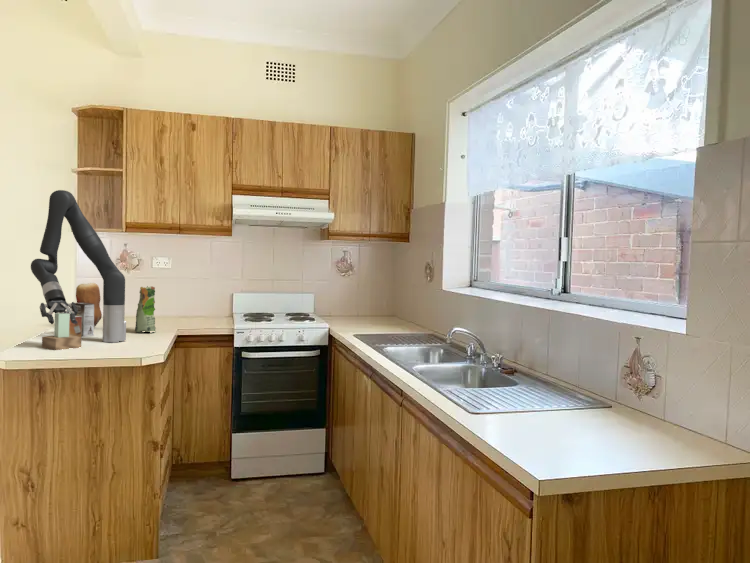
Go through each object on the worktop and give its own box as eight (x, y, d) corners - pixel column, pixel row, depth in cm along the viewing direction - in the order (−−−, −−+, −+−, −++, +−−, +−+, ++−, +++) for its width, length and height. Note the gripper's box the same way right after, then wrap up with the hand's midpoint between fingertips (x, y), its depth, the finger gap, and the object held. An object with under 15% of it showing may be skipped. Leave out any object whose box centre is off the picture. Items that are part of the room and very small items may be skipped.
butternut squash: (71, 327, 321) (72, 282, 320) (97, 326, 330) (98, 282, 329) (78, 330, 311) (79, 283, 310) (105, 329, 319) (106, 283, 319)
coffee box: (70, 334, 293) (71, 302, 292) (81, 333, 299) (82, 302, 298) (83, 336, 289) (83, 303, 289) (94, 335, 295) (95, 303, 294)
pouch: (153, 331, 318) (154, 285, 318) (159, 333, 309) (160, 286, 308) (131, 331, 312) (132, 285, 311) (137, 334, 302) (138, 286, 301)
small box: (62, 339, 278) (63, 316, 278) (62, 337, 283) (63, 315, 283) (81, 338, 282) (82, 316, 282) (81, 337, 287) (81, 315, 287)
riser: (67, 345, 260) (67, 334, 260) (81, 348, 254) (81, 336, 254) (42, 348, 251) (42, 336, 251) (55, 351, 245) (55, 339, 245)
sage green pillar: (65, 335, 256) (65, 313, 256) (69, 336, 253) (69, 313, 253) (54, 336, 253) (54, 313, 253) (58, 337, 250) (58, 314, 250)
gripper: (38, 288, 252) (47, 317, 244) (73, 288, 262) (83, 316, 255) (33, 300, 255) (42, 329, 248) (68, 299, 266) (78, 327, 259)
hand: (63, 322), depth 252 cm, fingers open, 8 cm apart
